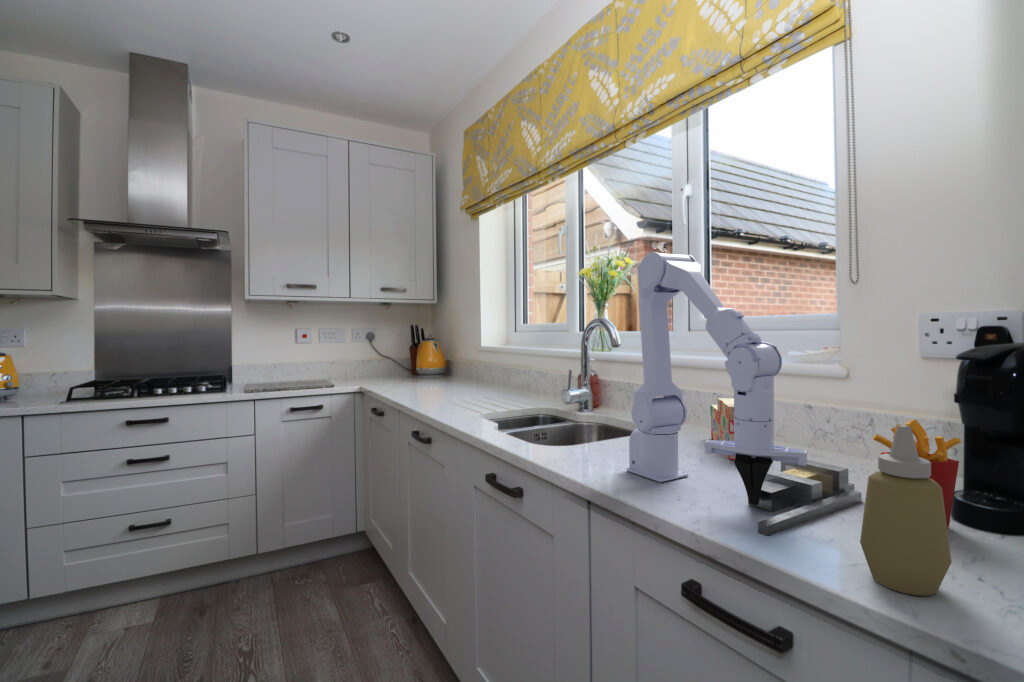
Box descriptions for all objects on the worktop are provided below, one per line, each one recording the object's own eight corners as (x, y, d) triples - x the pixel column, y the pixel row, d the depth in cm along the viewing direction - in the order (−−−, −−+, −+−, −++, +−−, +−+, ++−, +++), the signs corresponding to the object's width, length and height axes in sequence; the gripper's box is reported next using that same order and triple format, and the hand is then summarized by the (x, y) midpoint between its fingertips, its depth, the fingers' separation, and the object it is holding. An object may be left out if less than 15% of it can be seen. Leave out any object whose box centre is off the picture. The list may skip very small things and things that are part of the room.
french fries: (961, 529, 69) (962, 425, 69) (912, 534, 68) (912, 428, 68) (903, 507, 78) (903, 414, 78) (858, 511, 77) (858, 417, 76)
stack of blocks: (710, 438, 128) (710, 392, 128) (735, 439, 127) (735, 393, 127) (728, 460, 108) (728, 405, 107) (758, 461, 106) (758, 405, 106)
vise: (697, 509, 78) (697, 478, 78) (796, 480, 92) (796, 454, 92) (768, 536, 68) (767, 500, 68) (867, 498, 82) (867, 469, 82)
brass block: (780, 494, 85) (780, 472, 85) (796, 489, 87) (796, 467, 87) (803, 501, 81) (803, 478, 81) (820, 496, 84) (820, 473, 84)
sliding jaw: (732, 498, 83) (731, 475, 83) (764, 489, 87) (764, 467, 87) (790, 517, 74) (790, 491, 74) (822, 506, 79) (822, 481, 79)
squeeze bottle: (842, 568, 59) (843, 421, 58) (904, 564, 59) (905, 419, 59) (902, 606, 51) (902, 435, 50) (972, 601, 51) (973, 432, 51)
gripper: (808, 418, 76) (808, 504, 77) (711, 411, 85) (711, 488, 85) (805, 426, 71) (805, 518, 71) (701, 417, 79) (702, 500, 79)
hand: (754, 503), depth 78 cm, fingers closed
